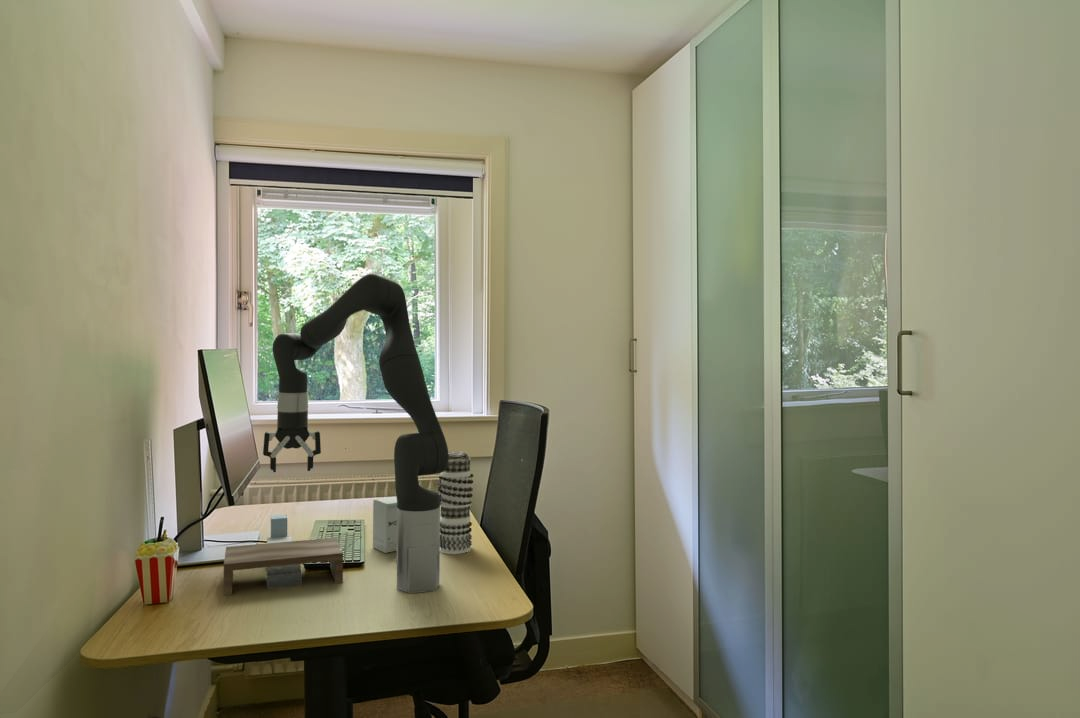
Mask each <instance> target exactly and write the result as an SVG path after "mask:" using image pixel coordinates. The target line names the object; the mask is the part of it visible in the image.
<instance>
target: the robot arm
mask: <svg viewBox="0 0 1080 718" xmlns="http://www.w3.org/2000/svg"><path fill="white" fill-rule="evenodd" d="M361 311H364V312H368V313H370V314H374V315H377V316H378V317H380V319H381V321H382V324H383V328H384V331H385V340H384V344H383V346H382V349H381V351H380V354H379V359H378V364H379V365H378V366H379V371H380V374H381V379H382V382H383V385H384V388H385V390H386V391H387V393H388V395H389V396H390V397H391V398H392V399H393V400H394V401H395V402H396V403H397V404H398V406H400V408H402V409H403V410H404V411H405V412H406V413H407V414H408V415H409V417H410V418H411V419H412V421H413V423H414V424H415V426H416V429H417V432H416V433H415V432H413V433H412V432H411V433H403V434H401V435H399V436H398V438H397V439H396V441H395V443H394V444H395V445H394V449H393V450H394V451H393V462H394V465H393V466H394V483H395V485H394V486H395V487H394V490H395V497H397V551H396V588H397V589H398V590H400V591H403V592H406V593H407V594H414V593H424V592H431V591H437V590H438V588H439V587H440V576H441V575H440V571H441V570H440V569H441V568H440V567H441V566H440V560H441V559H440V558H441V556H440V555H441V552H440V534H441V533H440V528H441V527H440V515H441V506H440V495H439V494H440V493H439V492H437V491H435V490H432V489H428V488H424V487H422V486H421V485H420V484H419V477H421V476H422V477H423V476H430V475H437V474H438V475H439V474H440V473H442V472H444V471H445V470H446V468H447V466H448V462H449V453H448V452H449V447H448V443H447V440H446V437H445V435H444V431H443V429H442V427H441V424H440V422H439V420H438V417H437V414H436V412H435V408H434V406H433V403H432V400H431V398H430V394H429V390H428V386H427V383H426V379H425V375H424V370H423V367H422V364H421V360H420V357H419V354H418V351H417V349H416V344H415V340H414V334H413V332H412V329H411V324H410V318H409V317H410V316H409V312H408V311H409V310H408V306H407V299H406V293H405V291H404V289H403V287H402V286H401V284H400V283H398V282H397V281H395V280H393V279H389V278H387V277H385V276H383V275H379V274H378V273H366V274H365V275H363V276H362V277H359V279H358V280H357V281H355V282H354V283H353V284H352V285H351V286H350V287H349V288H348V289H347V290H346V291H345V292H344V293H343V294H342V295H340V297H339V298H338V299H336V301H335V302H333V304H331V305H330V306H329V307H328V308H326V309H325V310H324V311H323V312H321V313H319V314H318V315H316V316H314V317H313V318H312V319H310V320H308V321H307V322H305V324H303V325H302V327H301V329H300V332H299V333H298V332H297V333H296V332H295V333H290V332H284V333H280V334H278V335H277V336H276V337H275V339H273V344H272V356H273V359H274V363H275V367H276V371H277V373H278V378H279V379H278V398H277V420H276V421H277V422H276V423H277V425H276V428H277V429H276V432H269V431H265V432H264V433H263V435H264V437H263V448H262V450H263V451H262V455H263V456H265V457H269V460H270V462H269V465H270V467H269V469H270V471H272V473H276V472H277V455H278V453H280V452H281V451H282V449H283V448H284V449H286V450H287V449H288V450H289V449H300V448H302V449H303V450H304V451H305V452H306V454H307V456H306V457H307V458H306V459H307V462H306V465H307V467H306V469H307V472H311V470H312V469H313V468H314V457H315V456H316V455H320V454H322V453H321V452H322V450H321V449H322V448H321V433H320V431H319V430H315V431H309V429H308V427H309V426H308V423H309V422H308V421H309V420H308V418H309V417H308V416H309V414H308V412H309V399H308V374H307V372H306V371H305V370H303V369H300V368H297V365H296V361H304V360H308V359H310V358H312V357H313V356H315V354H316V353H317V352H318V351H319V350H320V349H321V348H322V346H324V345H326V344H327V343H329V342H330V341H332V340H334V339H336V338H337V337H338V336H339V335H341V333H342V332H343V331H344V329H345V326H346V325H347V321H348V319H349V318H350V317H351V316H352V315H354V314H357V313H359V312H361ZM310 437H311V439H312V440H313V441H314V447H315V449H313V450H312V449H311V448H310V447H309V445H308V444H307V442H306V441H307V440H308V439H309V438H310ZM274 438H276V439H275V440H277V442H278V444H277V445H276V446H275V447H274V449H272V451H271V450H269V449H270V448H269V446H270V445H269V444H270V442H271V441H273V439H274Z"/></svg>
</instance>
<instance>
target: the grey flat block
mask: <svg viewBox="0 0 1080 718" xmlns="http://www.w3.org/2000/svg"><path fill="white" fill-rule="evenodd" d="M266 568H267V569H266V589H276V588H286V587H287V588H288V587H289V588H290V587H297V586H302V567H301V564H295V565H285V566H275V567H266Z"/></svg>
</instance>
